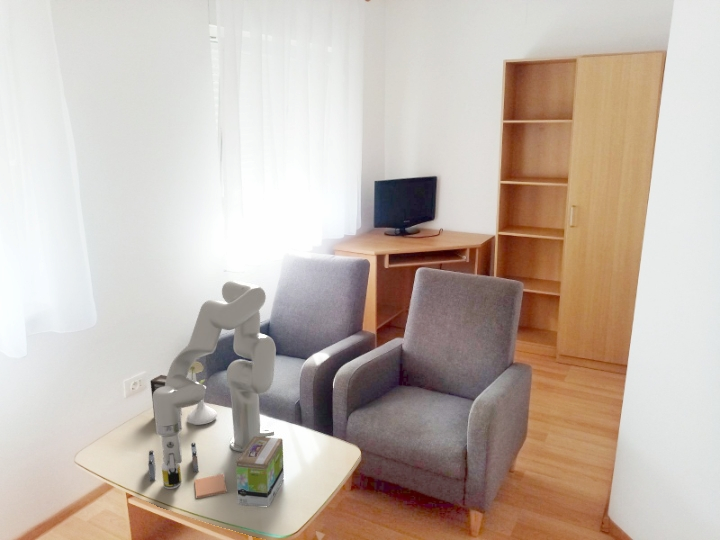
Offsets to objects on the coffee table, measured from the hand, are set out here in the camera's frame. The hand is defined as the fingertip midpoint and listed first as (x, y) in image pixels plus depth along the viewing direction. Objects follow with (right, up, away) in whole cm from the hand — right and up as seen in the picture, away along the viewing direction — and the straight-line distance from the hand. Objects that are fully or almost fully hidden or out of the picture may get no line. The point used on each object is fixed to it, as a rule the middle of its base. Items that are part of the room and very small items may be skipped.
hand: (173, 475), depth 173 cm
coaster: (+12, -3, -1) cm, 12 cm away
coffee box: (-18, +7, +45) cm, 49 cm away
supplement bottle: (-1, -3, +1) cm, 3 cm away
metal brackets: (-3, -1, +9) cm, 9 cm away
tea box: (+29, -4, -3) cm, 29 cm away
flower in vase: (-4, +6, +41) cm, 42 cm away
